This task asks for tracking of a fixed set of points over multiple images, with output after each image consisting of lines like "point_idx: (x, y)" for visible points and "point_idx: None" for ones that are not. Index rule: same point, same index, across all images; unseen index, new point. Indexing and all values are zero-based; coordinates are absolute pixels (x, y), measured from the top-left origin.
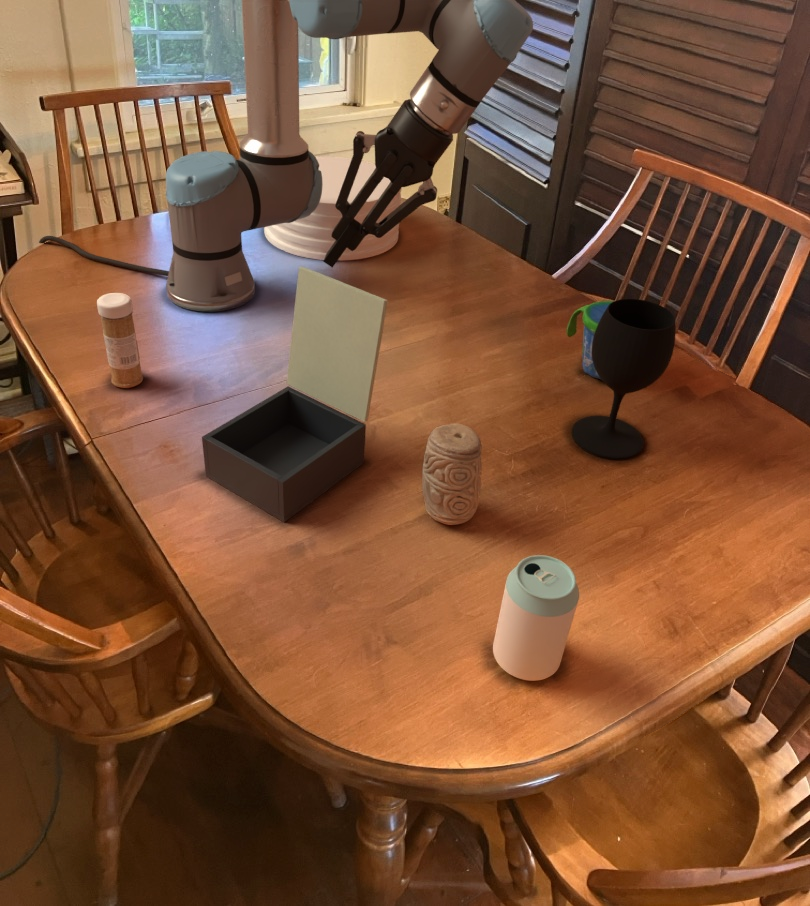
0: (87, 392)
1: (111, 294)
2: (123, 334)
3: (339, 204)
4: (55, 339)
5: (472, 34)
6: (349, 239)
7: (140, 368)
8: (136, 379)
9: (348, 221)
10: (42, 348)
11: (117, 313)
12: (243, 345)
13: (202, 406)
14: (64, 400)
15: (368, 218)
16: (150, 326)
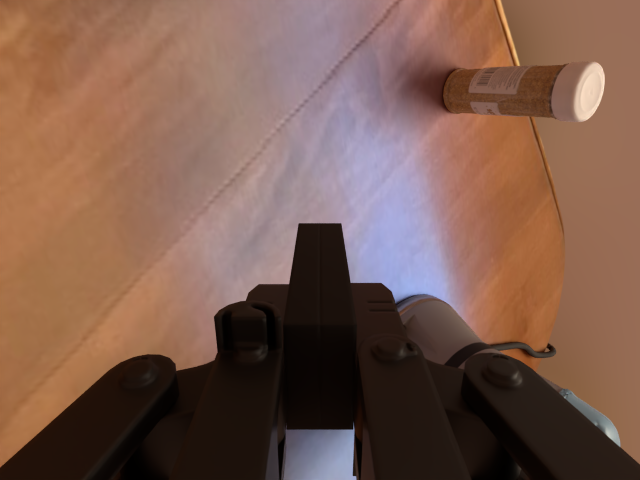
0: (488, 52)
1: (592, 108)
2: (531, 71)
3: (517, 373)
4: (526, 168)
5: None
6: (303, 286)
7: (458, 97)
8: (453, 80)
9: (373, 339)
10: (533, 144)
11: (575, 65)
12: (344, 237)
13: (362, 37)
14: (506, 27)
15: (264, 414)
16: (452, 236)
